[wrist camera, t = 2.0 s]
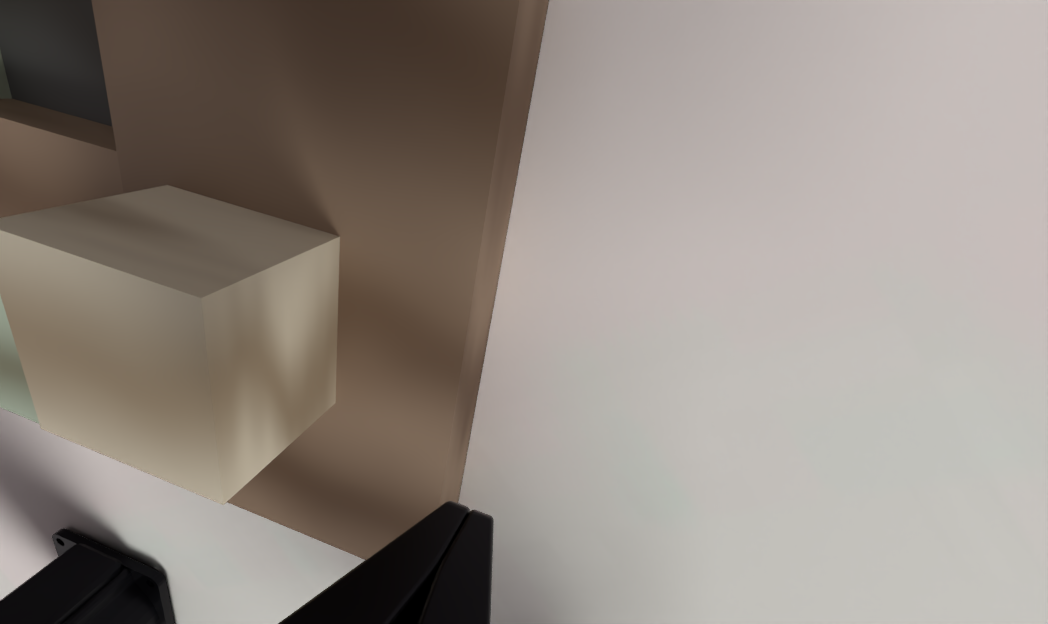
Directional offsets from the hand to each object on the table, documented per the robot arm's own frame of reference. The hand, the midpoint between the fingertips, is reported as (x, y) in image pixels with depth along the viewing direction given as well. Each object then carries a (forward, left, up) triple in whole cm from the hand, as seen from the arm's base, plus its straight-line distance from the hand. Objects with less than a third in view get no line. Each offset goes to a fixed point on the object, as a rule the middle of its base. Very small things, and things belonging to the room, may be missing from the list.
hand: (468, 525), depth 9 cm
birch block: (0, +8, -4) cm, 9 cm away
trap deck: (0, +13, -6) cm, 14 cm away
